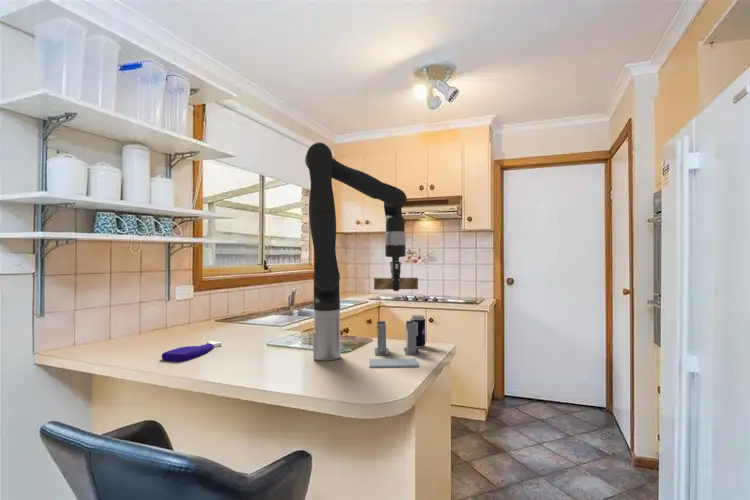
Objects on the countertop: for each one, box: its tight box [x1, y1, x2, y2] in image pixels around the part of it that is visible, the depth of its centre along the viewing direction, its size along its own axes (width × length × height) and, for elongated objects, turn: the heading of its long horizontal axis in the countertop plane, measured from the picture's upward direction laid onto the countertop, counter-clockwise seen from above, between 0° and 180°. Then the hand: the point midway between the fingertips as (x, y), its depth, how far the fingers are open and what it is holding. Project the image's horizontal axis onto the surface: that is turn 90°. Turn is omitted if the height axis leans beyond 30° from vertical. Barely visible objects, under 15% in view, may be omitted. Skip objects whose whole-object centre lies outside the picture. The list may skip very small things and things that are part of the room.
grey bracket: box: [403, 320, 420, 356], centre depth 150 cm, size 5×8×11 cm, turn 1°
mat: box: [369, 357, 420, 369], centre depth 135 cm, size 16×8×1 cm, turn 91°
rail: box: [373, 277, 419, 291], centre depth 150 cm, size 16×4×4 cm, turn 91°
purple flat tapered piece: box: [161, 340, 223, 363], centre depth 152 cm, size 3×11×24 cm
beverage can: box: [410, 314, 426, 349], centre depth 158 cm, size 6×6×12 cm
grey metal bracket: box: [374, 320, 390, 356], centre depth 150 cm, size 5×8×11 cm, turn 1°
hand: (395, 290), depth 149 cm, fingers closed on rail, 4 cm apart
